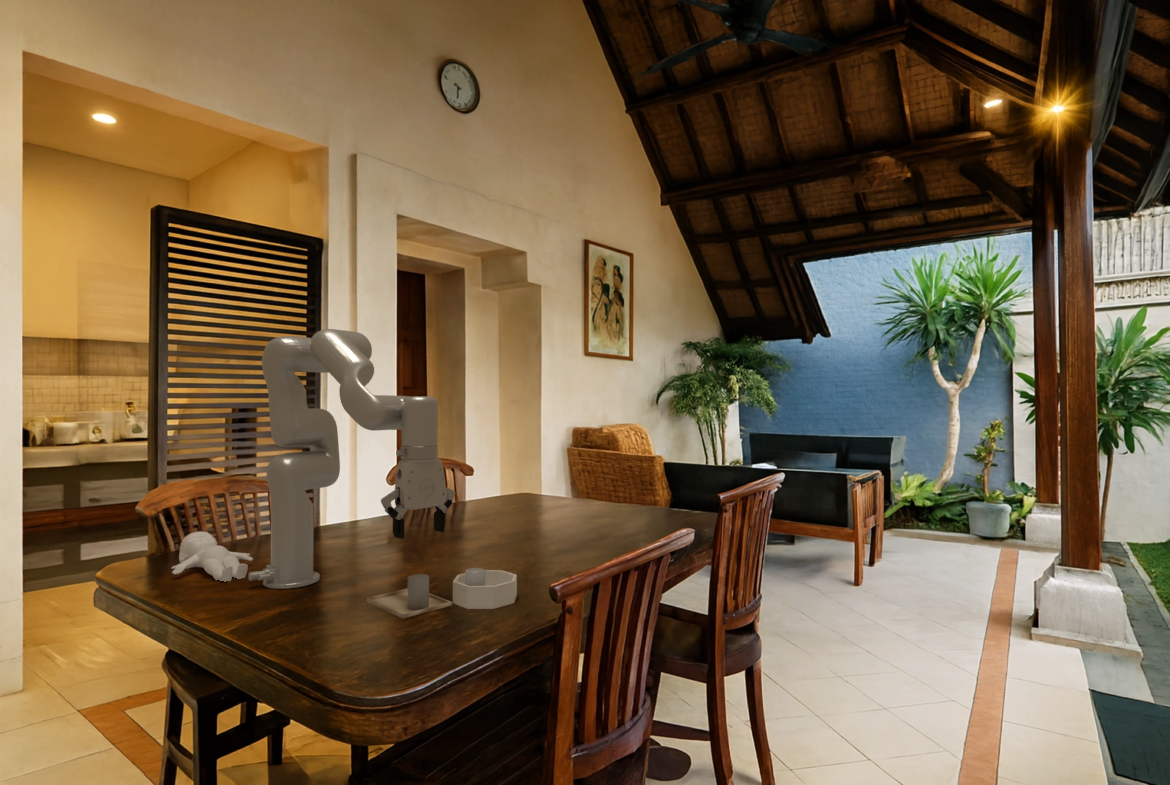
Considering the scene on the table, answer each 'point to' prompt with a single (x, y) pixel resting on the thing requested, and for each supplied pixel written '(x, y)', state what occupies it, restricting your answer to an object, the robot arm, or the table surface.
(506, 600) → the bowl
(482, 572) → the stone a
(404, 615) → the tray
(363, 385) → the robot arm
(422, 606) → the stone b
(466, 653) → the table surface
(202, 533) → the doll
